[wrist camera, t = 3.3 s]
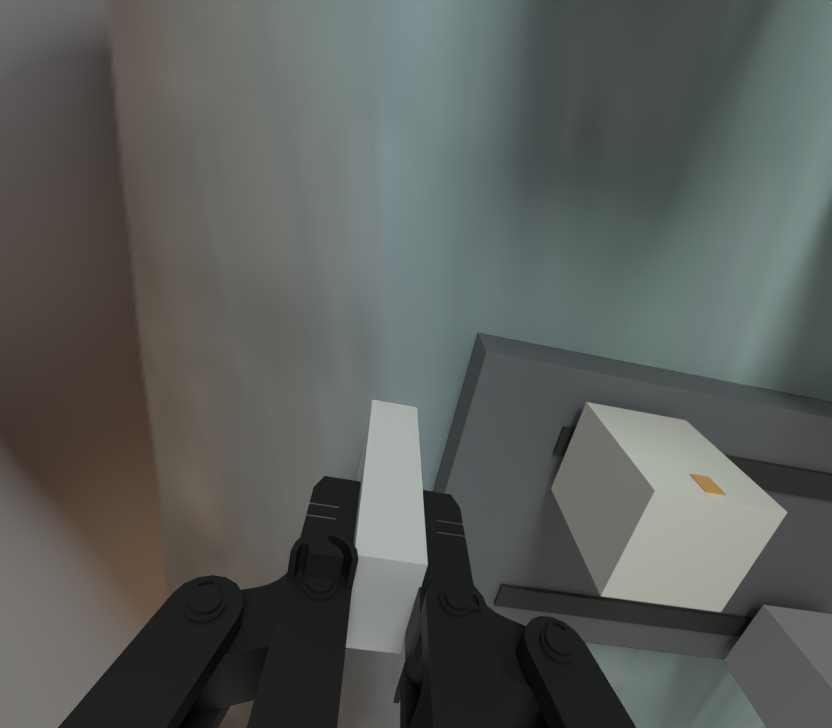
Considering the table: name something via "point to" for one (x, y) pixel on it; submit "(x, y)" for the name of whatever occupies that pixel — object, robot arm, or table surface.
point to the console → (547, 528)
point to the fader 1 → (660, 509)
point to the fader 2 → (786, 667)
